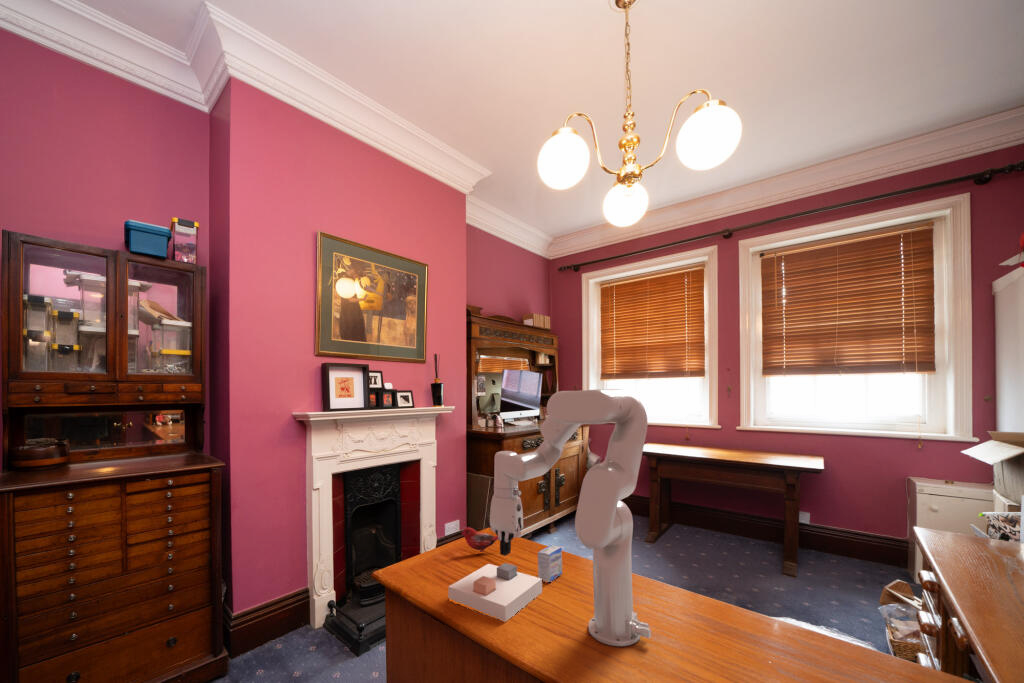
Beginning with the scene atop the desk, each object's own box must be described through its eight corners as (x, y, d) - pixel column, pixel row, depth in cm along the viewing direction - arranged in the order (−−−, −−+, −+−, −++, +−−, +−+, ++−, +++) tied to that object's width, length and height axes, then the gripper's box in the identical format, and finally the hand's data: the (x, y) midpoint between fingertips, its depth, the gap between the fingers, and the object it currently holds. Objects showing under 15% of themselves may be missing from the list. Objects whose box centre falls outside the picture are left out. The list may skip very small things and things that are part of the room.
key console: (542, 593, 123) (542, 578, 123) (505, 622, 107) (505, 606, 108) (488, 576, 134) (488, 563, 134) (448, 601, 118) (448, 586, 119)
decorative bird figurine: (460, 555, 152) (460, 526, 153) (506, 549, 157) (506, 521, 158) (461, 558, 149) (461, 529, 150) (508, 552, 154) (508, 524, 156)
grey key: (516, 576, 126) (516, 566, 127) (508, 581, 123) (508, 571, 123) (505, 573, 129) (505, 562, 129) (496, 578, 125) (496, 567, 125)
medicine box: (549, 584, 129) (549, 554, 130) (537, 580, 131) (537, 551, 132) (562, 575, 135) (562, 547, 136) (551, 571, 138) (550, 544, 139)
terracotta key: (495, 590, 117) (495, 579, 117) (486, 597, 114) (486, 585, 114) (483, 586, 120) (483, 575, 120) (473, 593, 116) (473, 581, 116)
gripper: (532, 493, 128) (532, 555, 126) (494, 486, 136) (493, 544, 134) (519, 498, 121) (519, 564, 119) (479, 491, 130) (478, 552, 128)
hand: (505, 553), depth 127 cm, fingers closed
